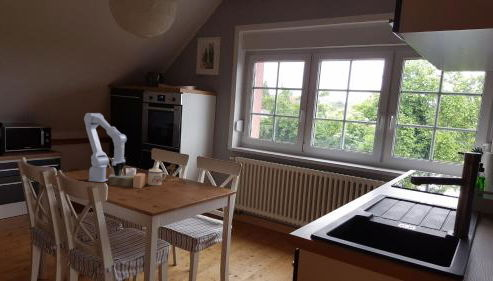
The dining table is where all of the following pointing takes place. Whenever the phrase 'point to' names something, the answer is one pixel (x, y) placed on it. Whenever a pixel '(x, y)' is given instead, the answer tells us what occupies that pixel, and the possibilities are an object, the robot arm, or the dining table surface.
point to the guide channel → (121, 182)
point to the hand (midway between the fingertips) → (118, 175)
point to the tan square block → (139, 180)
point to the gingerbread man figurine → (172, 175)
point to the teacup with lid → (155, 176)
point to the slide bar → (121, 176)
